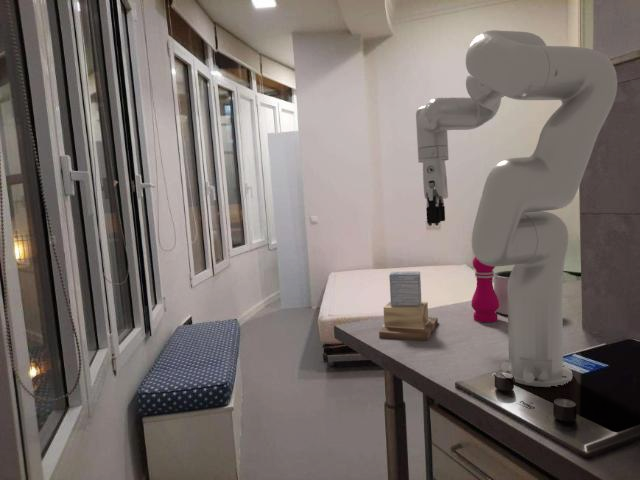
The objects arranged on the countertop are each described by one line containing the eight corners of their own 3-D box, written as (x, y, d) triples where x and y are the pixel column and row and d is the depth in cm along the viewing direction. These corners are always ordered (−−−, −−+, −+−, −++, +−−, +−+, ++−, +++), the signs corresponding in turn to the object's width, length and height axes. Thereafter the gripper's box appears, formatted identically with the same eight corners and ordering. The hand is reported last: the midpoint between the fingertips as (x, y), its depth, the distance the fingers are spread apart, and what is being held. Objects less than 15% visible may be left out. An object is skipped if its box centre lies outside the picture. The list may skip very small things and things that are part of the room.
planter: (488, 307, 144) (487, 271, 143) (530, 306, 143) (530, 269, 142) (502, 318, 131) (501, 279, 130) (549, 316, 131) (548, 276, 130)
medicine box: (421, 302, 127) (420, 270, 126) (421, 306, 123) (419, 273, 122) (392, 302, 129) (390, 271, 128) (390, 306, 125) (389, 274, 124)
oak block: (422, 328, 121) (421, 309, 121) (384, 325, 125) (383, 307, 125) (428, 319, 129) (427, 301, 128) (392, 318, 133) (391, 300, 132)
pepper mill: (492, 324, 126) (491, 250, 124) (467, 320, 131) (465, 249, 129) (503, 318, 132) (502, 246, 130) (478, 315, 136) (476, 246, 134)
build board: (426, 340, 116) (426, 334, 116) (377, 337, 121) (377, 331, 121) (437, 323, 131) (437, 317, 130) (393, 320, 136) (393, 315, 135)
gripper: (444, 150, 111) (447, 223, 113) (451, 156, 128) (454, 219, 129) (412, 154, 114) (415, 225, 115) (423, 159, 130) (426, 221, 131)
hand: (436, 222), depth 122 cm, fingers open, 9 cm apart
